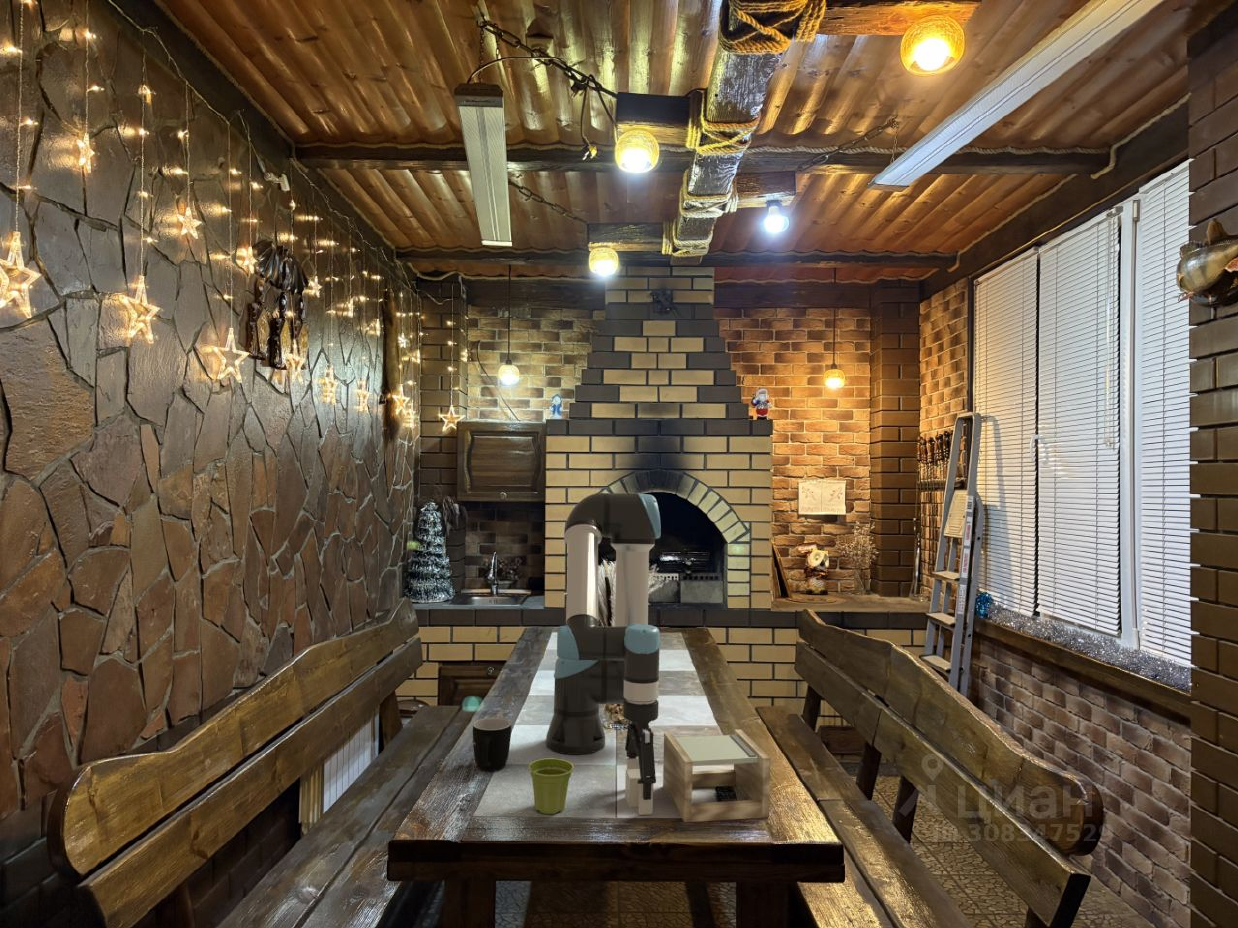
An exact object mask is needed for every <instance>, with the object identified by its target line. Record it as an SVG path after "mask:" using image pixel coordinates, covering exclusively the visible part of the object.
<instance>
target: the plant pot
mask: <svg viewBox="0 0 1238 928" xmlns="http://www.w3.org/2000/svg"><path fill="white" fill-rule="evenodd" d="M528 770H529V771H530V772H529V773H530V777H531V779H532V780H531V781H532V787H533V789H532V790H533V791H532V792H533V797H534V798H533V800H534V808H535V811H539V812H540V813H541V814H544V815H555V814H557V813H559V812H563V811H564V810H565V805H566V802H567V800H566V799H567V794H568V788H569V782H570V778H571V776H572V772H573V771H574V770H575V766H574V764H573V763H572V762H570V761H568V760H566V759H563V758H555V757H551V758H549V757H547V758H540V759H536V760H534V761H532V762H530V763H529V765H528Z"/></svg>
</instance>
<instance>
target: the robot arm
mask: <svg viewBox="0 0 1238 928" xmlns="http://www.w3.org/2000/svg"><path fill="white" fill-rule="evenodd" d="M660 515H661V514H660V511H659V505H658V501H657V499H656V497H655V496H654V495H652V494H647V493H638V492H637V493H630V492H629V493H622V492H621V493H620V492H619V493H617V492H616V493H613V492H612V493H610V492H609V493H607V492H596V493H595V492H594V493H592V494H589V495H588V496H585V497H584V498H583V499H582V500H580V501H579V502H578V503H577V504H576V505H575V506H574V507H573V508H572V510H571V511H570V513H569V514H568V517H567V518H566V522H565V526H564V533H563V539H564V542H565V543H566V544H567V565H566V568H567V570H566V572H567V573H566V574H567V575H566V577H567V578H566V605H565V606H566V608H565V625H560V626H558V627H557V635H556V655H557V657H558V658H557V659H556V660H555V665H554V673H553V678H554V687H553V688H554V690H553V692H554V693H553V697H554V698H553V715H552V718H551V721H550V724H549V725H548V729H547V732H546V740H545V741H546V742H545V745H546V747H547V748H548V749H550V750H551V751H553V752H556V753H559V754H560V753H561V754H566V755H585V754H591V753H595V752H598V751H601V750H602V749H603V748H604V747H605V746H606V735H605V734H606V733H605V731H604V727H603V724H602V719H601V717H600V705H623V707H622V715H623V718H625V720H627V722H628V723H627V731H626V732H627V733H626V739H625V745H624V746H625V747H624V751H625V752H626V757H627V758H626V769H640V777H641V780H638V781H637V783H638V784H639V807H638V815H639V816H640V815H641V816H642V815H643V816H644V815H653V806H654V784H656V783H657V778H656V765H655V752H654V750H655V749H654V748H655V747H654V731H652V728H650V725H649V724H650V723H651V722H654V721H656V720H657V719H658V718H659V700H658V699H659V688H662V683H661V682H659V681H660V676H659V675H660V650H661V649H660V648H661V637H660V636H661V635H660V630H659V628H658V627H657V626H654V625H652V624H649V577H650V575H649V569H650V566H649V564H650V562H649V561H650V550H651V549H653V548H654V546H655V544H656V543H655V542H656V541H655V540H658V539H660V537H661V534H662V533H661V531H662V530H661V529H662V528H661V516H660ZM603 538H608V539H609V538H610V546H611V547H612V548H613V549H614V550H615V552H616V554H615V599H614V600H615V601H614V602H615V603H614V604H615V607H614V614H615V615H614V617H615V618H614V626H609V625H608V626H607V625H606V626H605V625H601V626H600V625H599V544H601V541H602V539H603ZM647 776H650V777H647Z"/></svg>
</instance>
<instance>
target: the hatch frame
mask: <svg viewBox="0 0 1238 928" xmlns="http://www.w3.org/2000/svg"><path fill="white" fill-rule="evenodd" d="M672 733H673V732H671V731H667V732H663V765H662V766H663V770H662V773H663V774H662V787H663V789H664V790H665V792H666V794H667V796H668V798H670V800H671V803H672V804H673V805H674V807H675V809H676V811H677V812H678V815H679V816H680V818H681V819H682V821H683V822H684V823H694V822H708V821H709V822H711V821H725V820H740V819H741V820H743V819H759V818H770V803H771V802H770V799H771V798H770V796H771V795H770V793H771V791H770V790H771V757H770V756H769V755H768V754H767V753H766V752H764V750H763V749H762V748H760V746H759V745H758V744H757V743H755V741H754V740H752V739H751V738H750V736H749V735H747V733H746V732H744V731H743V730H742V729H741V728H740V729H734V734H735V735H736V736H737V737H738V738H739V739H740V740H741V741H742V742H743V743H744V744H745V745H746V746H747V747H748V748H749V749H750V750H751V751H752V752H753V753H754V754H755V755H756V756H757V757H758V761H757V762H755V763H737V764H733V769H717V770H714V769H713V770H696V771H694V770H693V767H694V766H693V762H692V760H691V759H690V758H689V756H688V755H687V754H686V752H685V751H684V750H683V748H682V747H681V746H680V744H679V743H678V741H677V740H676V739H675V738H676V737H675V736H674V735H673V734H672ZM728 786H736V787H737V789H738V790H739V791H740V792H741V793H742V795H743V796H744V797H745V799H746V800H732V801H731V800H730V801H729V800H728V801H714V802H695V803H693V788H707V787H708V788H710V787H728Z"/></svg>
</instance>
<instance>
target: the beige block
mask: <svg viewBox="0 0 1238 928" xmlns="http://www.w3.org/2000/svg"><path fill="white" fill-rule="evenodd" d="M647 777H650V776H647ZM638 780H641V777H640V769H627V768H626V769H625V783H624V784H625V787H624V788H625V789H624V798H625V800H626V802H627V805H628V808H637V807H638V808H639V784H638V783H637V781H638Z"/></svg>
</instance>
